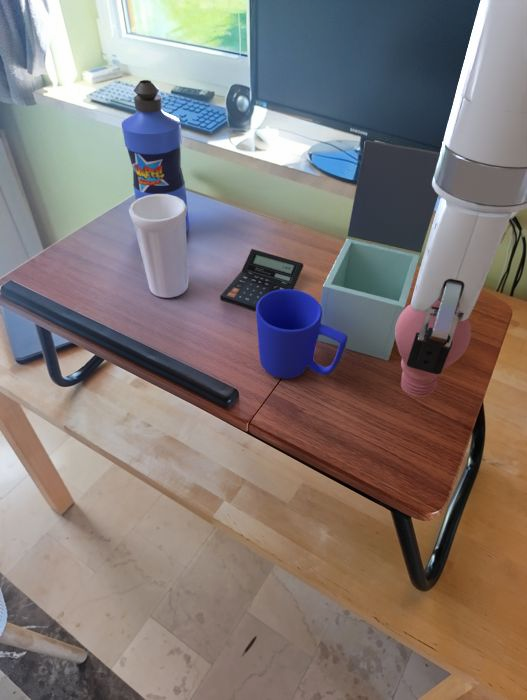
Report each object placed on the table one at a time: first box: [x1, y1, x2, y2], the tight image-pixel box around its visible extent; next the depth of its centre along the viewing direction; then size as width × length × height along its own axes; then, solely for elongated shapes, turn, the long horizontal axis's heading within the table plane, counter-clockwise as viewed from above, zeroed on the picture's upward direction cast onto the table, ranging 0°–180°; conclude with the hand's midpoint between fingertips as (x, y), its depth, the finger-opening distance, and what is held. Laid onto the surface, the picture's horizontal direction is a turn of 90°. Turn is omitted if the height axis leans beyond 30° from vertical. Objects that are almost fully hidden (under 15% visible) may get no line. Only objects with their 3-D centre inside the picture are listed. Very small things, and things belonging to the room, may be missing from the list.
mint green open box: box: [317, 237, 421, 361], centre depth 69 cm, size 13×11×10 cm
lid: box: [346, 139, 440, 253], centre depth 66 cm, size 14×11×5 cm
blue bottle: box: [121, 79, 190, 233], centre depth 81 cm, size 9×9×25 cm
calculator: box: [219, 248, 304, 312], centre depth 77 cm, size 9×12×3 cm
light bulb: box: [395, 301, 472, 398], centre depth 49 cm, size 7×7×12 cm
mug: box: [255, 289, 348, 380], centre depth 62 cm, size 8×12×10 cm
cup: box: [128, 194, 189, 299], centre depth 72 cm, size 8×8×14 cm
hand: (429, 341), depth 48 cm, fingers closed on light bulb, 7 cm apart
